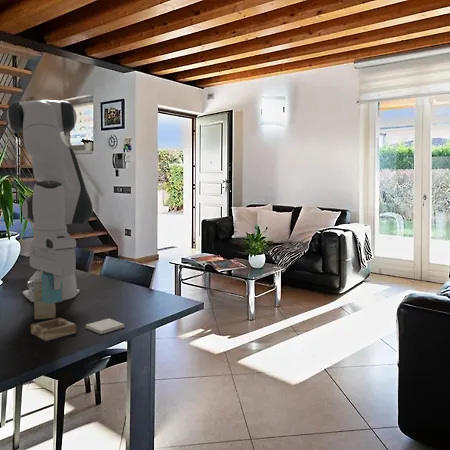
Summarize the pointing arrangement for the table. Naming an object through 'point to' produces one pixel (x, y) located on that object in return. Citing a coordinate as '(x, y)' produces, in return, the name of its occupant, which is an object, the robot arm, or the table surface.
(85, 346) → the table surface
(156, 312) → the table surface
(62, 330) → the pocket holder
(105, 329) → the ceramic tile
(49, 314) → the skincare box
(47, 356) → the table surface
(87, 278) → the table surface
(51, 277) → the teal bar
